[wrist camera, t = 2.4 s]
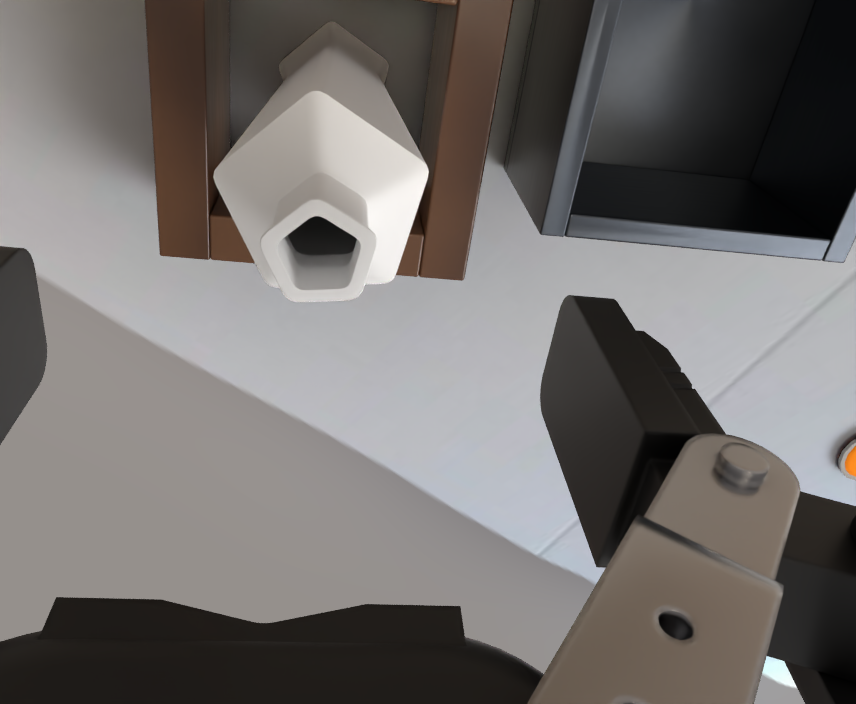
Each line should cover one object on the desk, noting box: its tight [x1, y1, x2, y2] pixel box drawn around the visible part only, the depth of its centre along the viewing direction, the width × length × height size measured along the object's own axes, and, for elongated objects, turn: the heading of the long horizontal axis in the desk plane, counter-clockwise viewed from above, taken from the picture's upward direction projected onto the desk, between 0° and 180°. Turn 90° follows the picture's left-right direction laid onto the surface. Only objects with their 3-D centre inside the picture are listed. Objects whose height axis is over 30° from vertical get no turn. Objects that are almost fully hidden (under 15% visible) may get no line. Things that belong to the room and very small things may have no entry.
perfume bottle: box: [213, 22, 429, 302], centre depth 20 cm, size 5×4×15 cm
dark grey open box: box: [504, 0, 856, 263], centre depth 23 cm, size 11×14×7 cm
